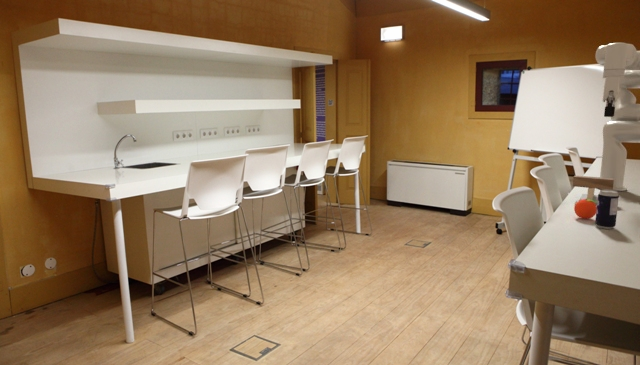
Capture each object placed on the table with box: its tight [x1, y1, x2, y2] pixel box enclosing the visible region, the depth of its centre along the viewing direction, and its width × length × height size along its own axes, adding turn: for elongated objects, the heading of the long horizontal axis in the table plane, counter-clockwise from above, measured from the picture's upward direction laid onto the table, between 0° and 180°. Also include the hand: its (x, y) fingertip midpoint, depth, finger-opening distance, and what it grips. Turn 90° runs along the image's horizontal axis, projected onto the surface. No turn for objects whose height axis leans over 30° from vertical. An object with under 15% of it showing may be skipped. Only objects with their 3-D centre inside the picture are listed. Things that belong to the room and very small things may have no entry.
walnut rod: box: [572, 175, 614, 190], centre depth 187 cm, size 4×14×4 cm, turn 56°
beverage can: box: [594, 189, 620, 230], centre depth 149 cm, size 6×6×12 cm
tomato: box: [573, 199, 597, 220], centre depth 161 cm, size 8×7×7 cm
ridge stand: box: [578, 188, 598, 207], centre depth 190 cm, size 18×7×6 cm, turn 146°
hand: (609, 116), depth 192 cm, fingers open, 9 cm apart
